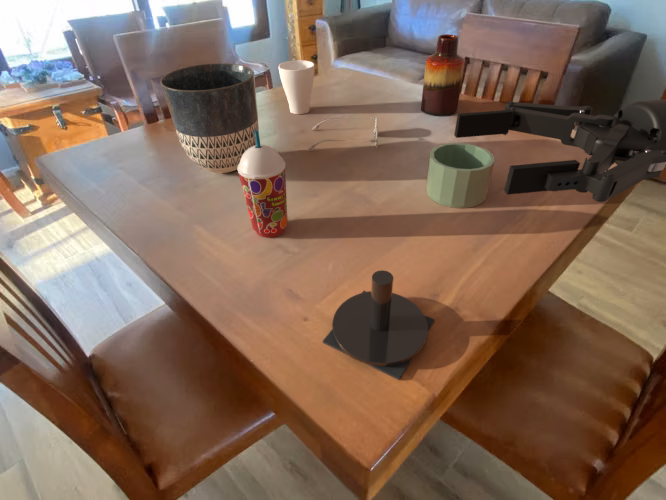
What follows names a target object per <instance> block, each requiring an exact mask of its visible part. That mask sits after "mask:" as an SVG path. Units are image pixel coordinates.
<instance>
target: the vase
mask: <svg viewBox="0 0 666 500" xmlns="http://www.w3.org/2000/svg"><path fill="white" fill-rule="evenodd" d="M458 47H459V36H458V35H455V34H449V33H448V34H440V35H438V37H437V41H436V47H435V51H434V53H433V54H430V55H428V56H427V57H426V58H425V65H424V66H425V67H424V77H423V84H422V95H421V103H420V104H421V105H420V106H421V107H420V110H421V112H422V113H424V114H426V115H429V116H433V117H448V116H452V115H454V114H456V113H457V112H458V109H459V108H458V107H459V102H460V96H461V95H460V94H461V89H462V82H463V76H464V69H465V64H466V60H465V58H464V57H463V56H461V55H460V54H458V49H459V48H458Z"/></svg>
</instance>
